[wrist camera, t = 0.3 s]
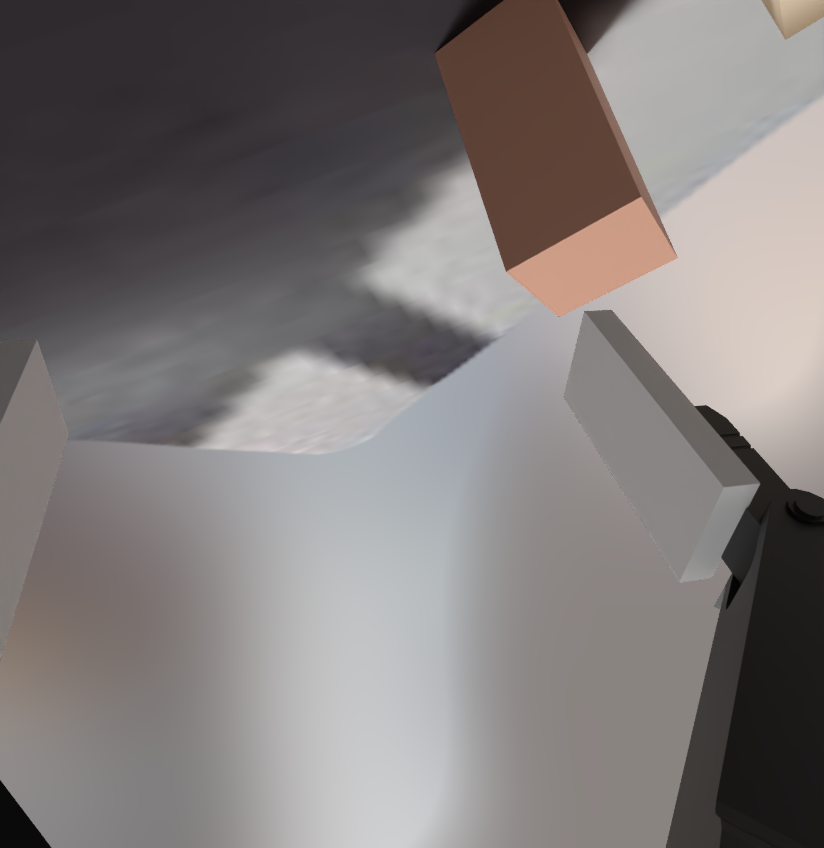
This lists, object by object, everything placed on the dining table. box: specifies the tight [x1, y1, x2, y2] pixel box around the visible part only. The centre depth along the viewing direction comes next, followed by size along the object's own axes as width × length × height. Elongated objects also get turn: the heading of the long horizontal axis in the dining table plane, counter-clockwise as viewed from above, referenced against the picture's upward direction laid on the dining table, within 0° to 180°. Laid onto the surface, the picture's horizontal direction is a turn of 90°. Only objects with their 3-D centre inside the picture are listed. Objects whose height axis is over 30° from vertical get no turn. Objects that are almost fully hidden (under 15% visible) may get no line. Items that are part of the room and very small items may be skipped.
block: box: [435, 0, 677, 317], centre depth 27 cm, size 5×5×11 cm
